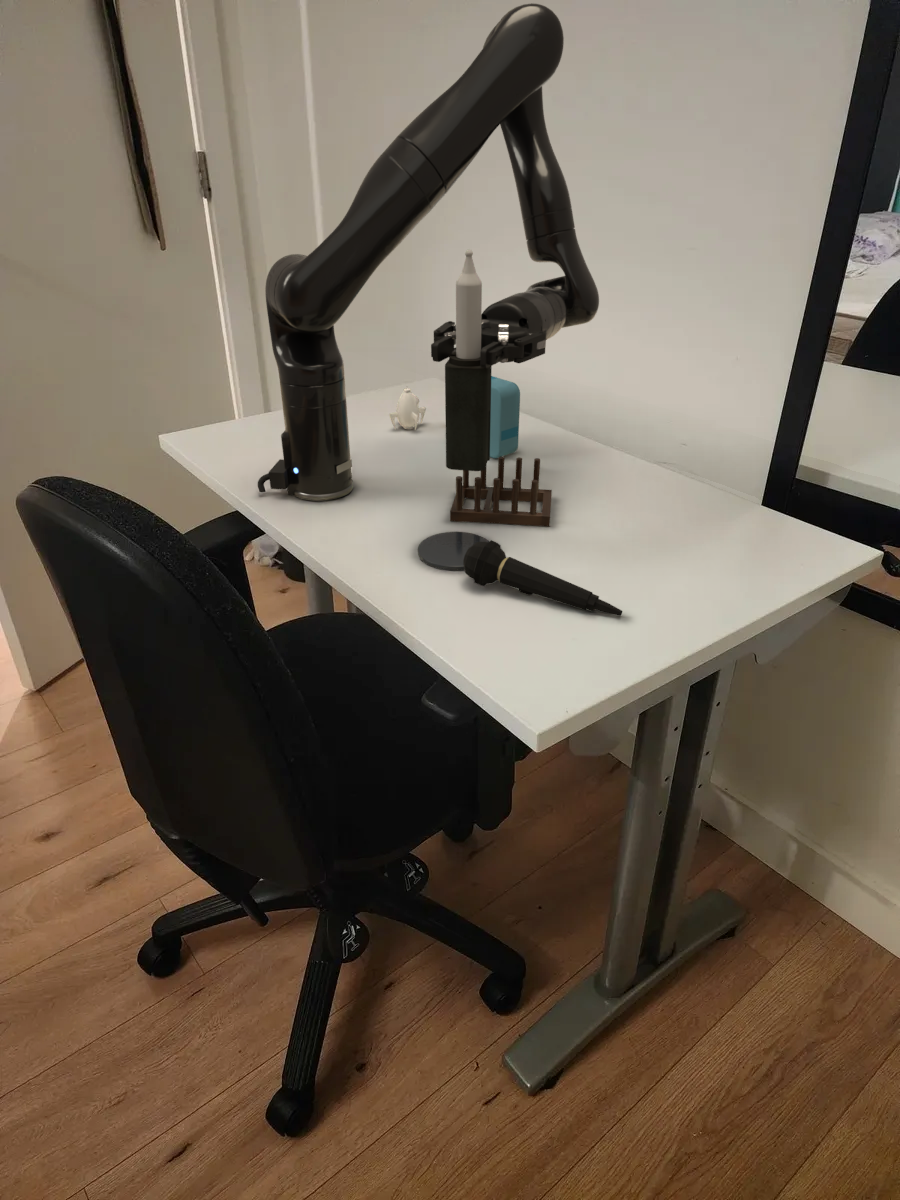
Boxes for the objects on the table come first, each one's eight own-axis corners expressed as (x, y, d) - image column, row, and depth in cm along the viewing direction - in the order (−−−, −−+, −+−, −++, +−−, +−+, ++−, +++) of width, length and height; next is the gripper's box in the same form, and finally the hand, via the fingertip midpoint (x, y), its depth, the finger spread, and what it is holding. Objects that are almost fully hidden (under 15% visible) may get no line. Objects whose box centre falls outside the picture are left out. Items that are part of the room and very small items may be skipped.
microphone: (619, 631, 94) (469, 574, 101) (634, 586, 92) (481, 531, 99) (607, 641, 89) (451, 581, 96) (624, 594, 88) (463, 535, 94)
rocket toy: (426, 424, 149) (425, 382, 145) (418, 433, 145) (417, 390, 141) (398, 422, 150) (397, 379, 146) (389, 431, 146) (388, 388, 142)
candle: (484, 472, 99) (488, 253, 86) (444, 469, 99) (441, 252, 86) (491, 457, 103) (495, 246, 90) (452, 454, 104) (450, 245, 91)
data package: (518, 454, 136) (521, 384, 129) (499, 461, 133) (501, 389, 127) (470, 436, 143) (471, 369, 137) (451, 442, 141) (451, 374, 135)
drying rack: (450, 521, 113) (450, 478, 110) (458, 494, 121) (458, 454, 118) (549, 526, 112) (552, 483, 108) (551, 499, 120) (554, 458, 116)
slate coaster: (411, 568, 101) (411, 564, 101) (424, 533, 110) (424, 529, 110) (490, 573, 100) (490, 568, 100) (496, 537, 109) (497, 533, 108)
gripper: (468, 291, 106) (403, 316, 93) (571, 300, 100) (517, 328, 87) (467, 348, 109) (405, 380, 97) (567, 361, 104) (515, 396, 91)
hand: (459, 355), depth 92 cm, fingers closed on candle, 5 cm apart
